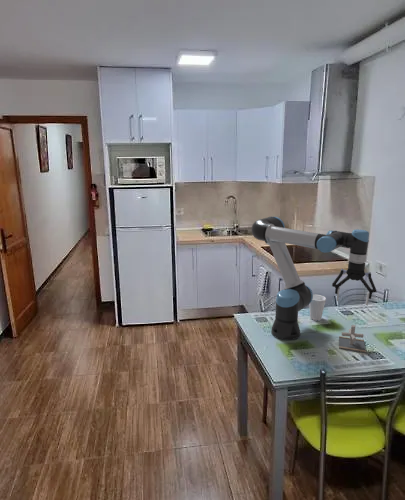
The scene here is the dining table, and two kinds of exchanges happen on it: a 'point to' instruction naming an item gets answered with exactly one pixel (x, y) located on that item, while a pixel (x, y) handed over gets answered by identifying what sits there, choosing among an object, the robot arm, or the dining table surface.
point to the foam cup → (317, 307)
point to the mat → (356, 346)
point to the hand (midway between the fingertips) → (351, 302)
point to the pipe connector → (352, 334)
